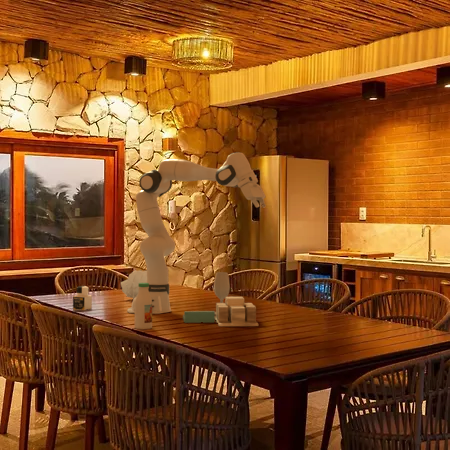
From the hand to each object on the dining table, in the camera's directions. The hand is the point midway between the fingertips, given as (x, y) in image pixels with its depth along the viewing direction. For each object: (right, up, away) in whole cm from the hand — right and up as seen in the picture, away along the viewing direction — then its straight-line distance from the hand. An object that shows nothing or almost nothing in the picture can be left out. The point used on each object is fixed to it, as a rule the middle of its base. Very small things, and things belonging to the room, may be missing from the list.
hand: (261, 207), depth 326 cm
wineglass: (-19, -54, +14) cm, 59 cm away
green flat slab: (-30, -54, -5) cm, 62 cm away
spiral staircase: (-64, -53, +62) cm, 104 cm away
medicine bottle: (-92, -53, +27) cm, 110 cm away
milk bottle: (-54, -55, -28) cm, 82 cm away
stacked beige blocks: (-12, -54, -11) cm, 57 cm away
